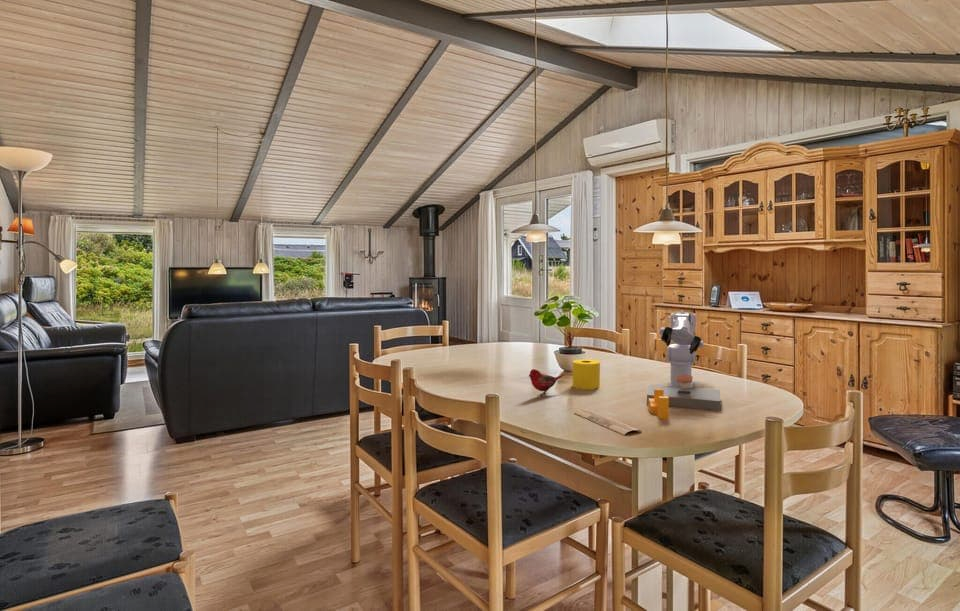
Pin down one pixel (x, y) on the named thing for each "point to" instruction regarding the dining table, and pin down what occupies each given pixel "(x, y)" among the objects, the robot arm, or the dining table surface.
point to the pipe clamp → (659, 404)
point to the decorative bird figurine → (542, 381)
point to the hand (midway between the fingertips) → (680, 347)
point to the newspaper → (606, 421)
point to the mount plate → (689, 397)
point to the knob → (684, 380)
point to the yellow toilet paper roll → (586, 374)
